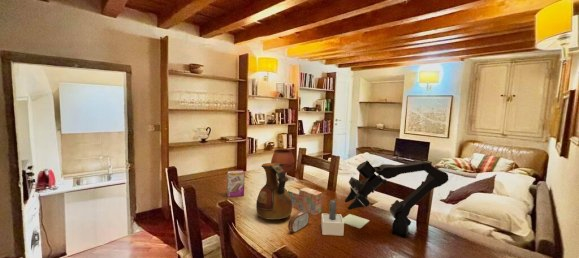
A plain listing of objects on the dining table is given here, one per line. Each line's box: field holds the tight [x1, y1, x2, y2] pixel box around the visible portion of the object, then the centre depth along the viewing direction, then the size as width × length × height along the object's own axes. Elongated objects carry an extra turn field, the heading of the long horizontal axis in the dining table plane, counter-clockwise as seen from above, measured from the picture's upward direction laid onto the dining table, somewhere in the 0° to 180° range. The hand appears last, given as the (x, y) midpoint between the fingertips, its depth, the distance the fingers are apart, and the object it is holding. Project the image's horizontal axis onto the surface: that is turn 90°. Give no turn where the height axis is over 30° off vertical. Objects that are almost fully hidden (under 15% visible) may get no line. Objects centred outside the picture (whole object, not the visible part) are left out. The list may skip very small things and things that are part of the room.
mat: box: [342, 213, 370, 229], centre depth 139 cm, size 12×12×1 cm
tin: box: [287, 210, 310, 233], centre depth 128 cm, size 15×3×8 cm, turn 141°
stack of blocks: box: [287, 187, 323, 216], centre depth 154 cm, size 21×6×12 cm, turn 47°
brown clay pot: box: [270, 148, 296, 182], centre depth 210 cm, size 19×19×25 cm
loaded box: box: [320, 213, 345, 237], centre depth 128 cm, size 10×10×6 cm
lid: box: [323, 199, 342, 223], centre depth 127 cm, size 8×8×10 cm
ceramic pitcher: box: [255, 162, 293, 220], centre depth 141 cm, size 20×20×30 cm
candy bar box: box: [226, 170, 246, 198], centre depth 172 cm, size 11×5×16 cm, turn 108°
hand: (346, 205), depth 127 cm, fingers open, 9 cm apart
